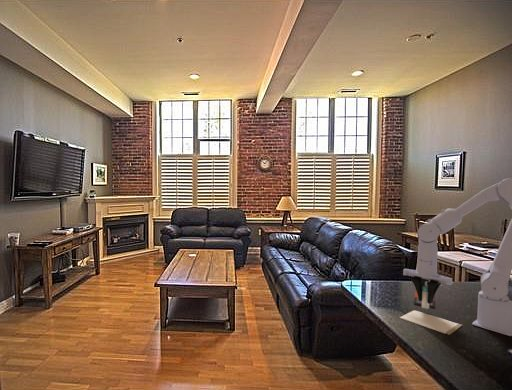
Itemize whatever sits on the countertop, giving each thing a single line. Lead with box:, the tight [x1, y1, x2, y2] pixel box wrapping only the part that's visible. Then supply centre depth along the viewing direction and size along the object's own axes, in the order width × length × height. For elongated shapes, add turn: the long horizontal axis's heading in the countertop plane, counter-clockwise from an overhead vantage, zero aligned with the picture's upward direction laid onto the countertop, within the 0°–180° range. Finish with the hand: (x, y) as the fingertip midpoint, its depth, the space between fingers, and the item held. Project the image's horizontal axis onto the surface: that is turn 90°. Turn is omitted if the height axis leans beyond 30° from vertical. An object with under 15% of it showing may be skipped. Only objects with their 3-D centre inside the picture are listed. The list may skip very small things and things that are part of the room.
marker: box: [421, 284, 430, 310], centre depth 106 cm, size 2×2×7 cm
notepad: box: [399, 309, 463, 336], centre depth 98 cm, size 14×10×1 cm
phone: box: [413, 291, 436, 309], centre depth 118 cm, size 6×1×15 cm
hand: (425, 301), depth 106 cm, fingers closed on marker, 2 cm apart
